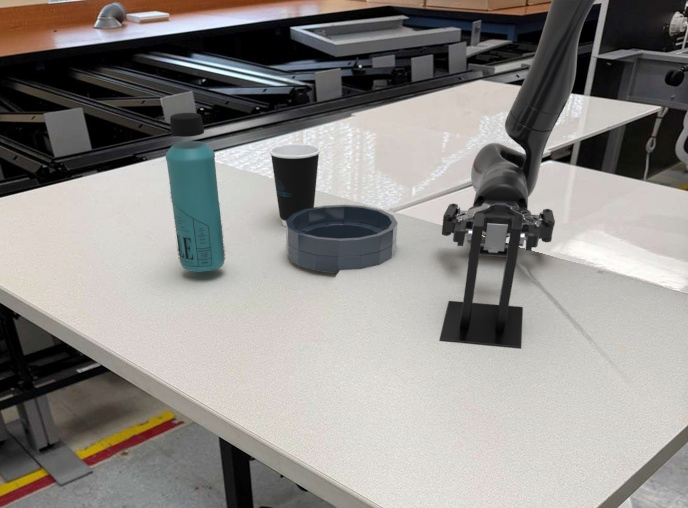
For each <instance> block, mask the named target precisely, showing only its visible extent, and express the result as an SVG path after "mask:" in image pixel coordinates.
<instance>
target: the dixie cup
mask: <svg viewBox="0 0 688 508" xmlns="http://www.w3.org/2000/svg"><path fill="white" fill-rule="evenodd" d="M321 152H322V150H321V148H320V146H317V145H314V144H308V143H287V144H286V143H285V144H279V145H276V146H273V147H270V149H269V151H268V154H269V155H270V157H271V164H272V172H273V178H274V179H273V180H274V185H275V186H274V187H275V193H276V200H277V206H278V214H279V218H280V220H281V225H282V226H283V227H285V228H286V220H287V219H288V218H289V217H290V216H291V215H292V214H294V213H297V212H299V211H302V210H304V209H308V208H314V207H315V202H316V201H315V199H316V189H317V178H318V169H319V168H318V167H319V155H320V153H321Z"/></svg>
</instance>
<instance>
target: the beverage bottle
mask: <svg viewBox="0 0 688 508" xmlns="http://www.w3.org/2000/svg"><path fill="white" fill-rule="evenodd" d="M169 124H170V125H169V126H170V127H169V128H170V129H169V130H170V131H169V132H170V135H171V136H173V137H179V138H180V137H181V138H189V137H197V136H201V135H203V134H205V127H204V123H203V117H202V115H201V114H200V113H196V112H180V113H175V114H172V115H170V116H169ZM165 161H166V166H167V173H168V181H169V182H168V183H169V191H168V192H169V194H170V202H171V205H172V211H173V220H174V226H173V227H174V228H175V231H174V232H175V233H176V234H175V236H176V242H175V243H176V244H177V247H176V250H177V252H178V253H177V255H178V259H179V260H178V262H179V263H180V266H181V267H182V269H184V270H186V271H189V272H190V271H191V272H195V273H197V272H199V273H201V272H210V271H214V270H218V269H220V268H222V267H223V266H224V265H225V261H226V250H225V249H226V248H225V243H224V238H225V237H224V234H223V233H224V229H223V225H222V217H221V216H222V215H221V204H220V199H219V190H218V179H217V169H216V168H217V167H216V153H215V151H214V150H213V149H212V148H211V147H210V146H209V145H208V144H207V143H205V142H203V141H198V140H190V141H189V140H188V141H180V142H176V143H174V144H172V146H170V148H169V149H168V150H167V152H166V153H165Z"/></svg>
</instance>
